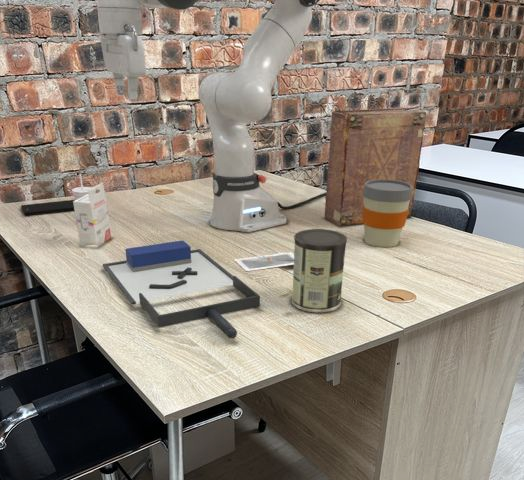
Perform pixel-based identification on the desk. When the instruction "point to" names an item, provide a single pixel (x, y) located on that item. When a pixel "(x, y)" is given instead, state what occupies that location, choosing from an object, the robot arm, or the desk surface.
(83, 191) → the smoothie
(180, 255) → the eraser
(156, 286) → the black bent rod
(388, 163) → the book
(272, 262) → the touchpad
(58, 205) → the cell phone
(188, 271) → the x mark
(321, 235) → the coffee can
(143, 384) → the desk surface
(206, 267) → the whiteboard
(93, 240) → the ink cartridge box
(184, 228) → the desk surface
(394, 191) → the reusable coffee cup
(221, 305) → the dustpan
